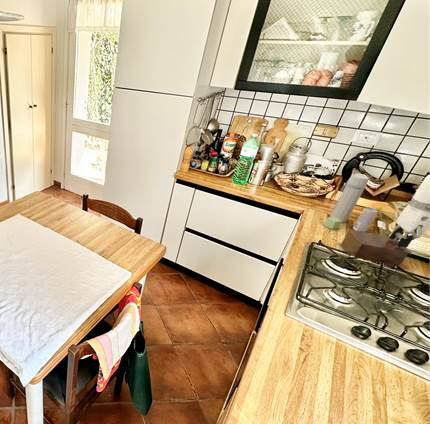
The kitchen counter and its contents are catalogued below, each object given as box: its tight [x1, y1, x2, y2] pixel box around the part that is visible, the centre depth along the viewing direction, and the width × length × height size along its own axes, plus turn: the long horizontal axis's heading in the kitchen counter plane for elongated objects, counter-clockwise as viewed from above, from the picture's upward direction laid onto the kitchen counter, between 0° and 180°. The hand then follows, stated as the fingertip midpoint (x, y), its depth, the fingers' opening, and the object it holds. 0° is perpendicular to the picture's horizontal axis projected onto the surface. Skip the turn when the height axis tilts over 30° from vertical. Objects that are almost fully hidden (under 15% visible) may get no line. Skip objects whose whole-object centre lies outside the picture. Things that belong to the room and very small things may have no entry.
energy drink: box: [352, 207, 379, 233], centre depth 153 cm, size 5×5×12 cm
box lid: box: [348, 229, 412, 255], centre depth 131 cm, size 16×13×5 cm
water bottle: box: [329, 173, 370, 223], centre depth 160 cm, size 9×8×25 cm
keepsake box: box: [340, 230, 409, 269], centre depth 135 cm, size 16×13×8 cm
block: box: [323, 216, 343, 230], centre depth 158 cm, size 4×4×4 cm
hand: (397, 242), depth 130 cm, fingers closed on box lid, 5 cm apart
